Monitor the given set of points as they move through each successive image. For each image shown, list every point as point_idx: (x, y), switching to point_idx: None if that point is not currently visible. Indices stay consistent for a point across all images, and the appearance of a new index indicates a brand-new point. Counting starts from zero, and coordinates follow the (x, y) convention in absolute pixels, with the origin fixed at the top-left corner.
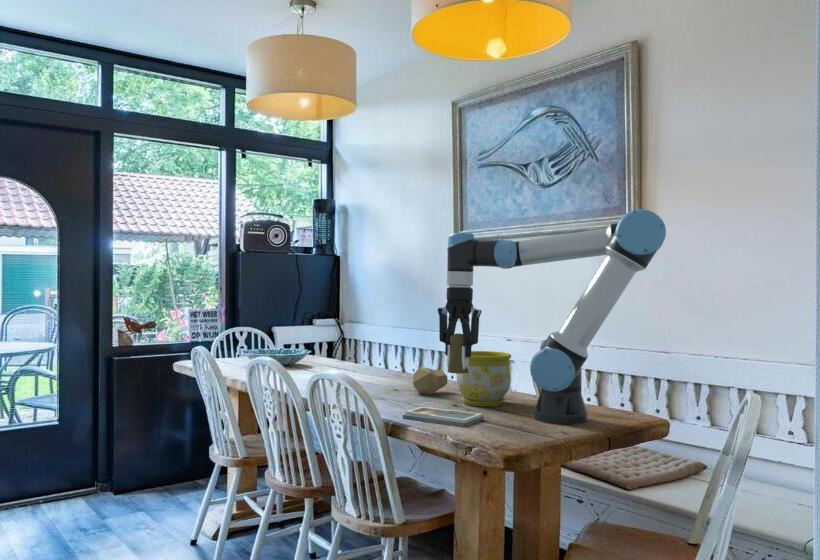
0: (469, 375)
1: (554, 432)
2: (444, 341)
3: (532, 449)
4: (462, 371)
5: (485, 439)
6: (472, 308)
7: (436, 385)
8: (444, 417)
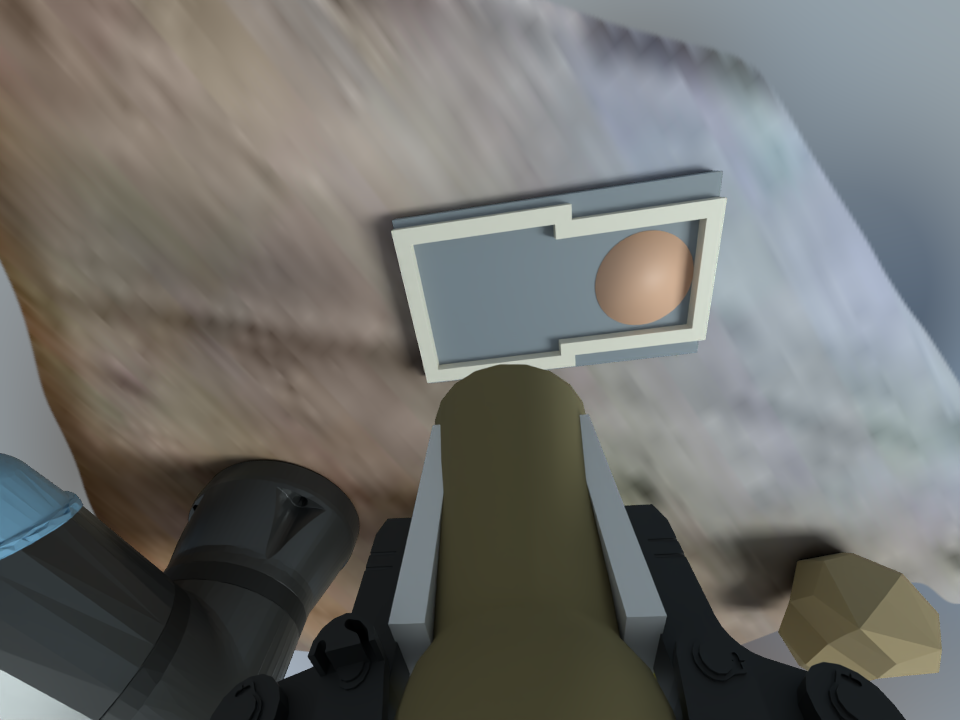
0: None
1: (147, 370)
2: (770, 683)
3: None
4: (441, 409)
5: (161, 71)
6: None
7: (803, 600)
8: (494, 215)
